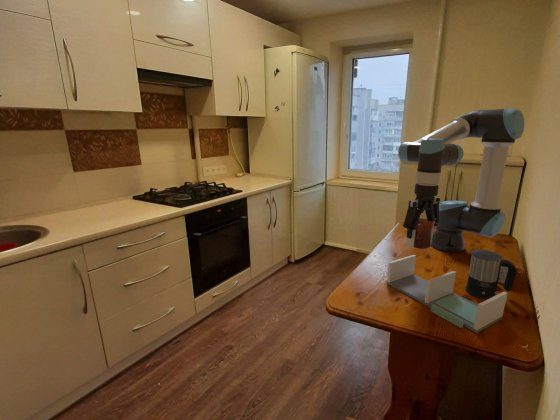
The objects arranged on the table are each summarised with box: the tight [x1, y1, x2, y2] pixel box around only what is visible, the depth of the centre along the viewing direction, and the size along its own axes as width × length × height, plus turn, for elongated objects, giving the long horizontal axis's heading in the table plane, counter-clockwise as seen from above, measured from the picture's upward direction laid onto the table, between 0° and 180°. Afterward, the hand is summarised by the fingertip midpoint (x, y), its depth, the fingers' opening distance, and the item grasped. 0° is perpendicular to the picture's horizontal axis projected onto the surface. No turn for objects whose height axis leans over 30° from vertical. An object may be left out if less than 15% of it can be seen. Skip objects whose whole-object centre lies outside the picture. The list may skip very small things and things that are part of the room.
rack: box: [386, 254, 508, 334], centre depth 104 cm, size 16×33×9 cm, turn 30°
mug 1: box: [413, 217, 436, 250], centre depth 111 cm, size 12×9×10 cm
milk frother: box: [464, 249, 518, 300], centre depth 111 cm, size 14×16×15 cm
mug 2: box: [498, 264, 517, 285], centre depth 120 cm, size 10×7×7 cm
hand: (418, 244), depth 113 cm, fingers closed on mug 1, 9 cm apart
